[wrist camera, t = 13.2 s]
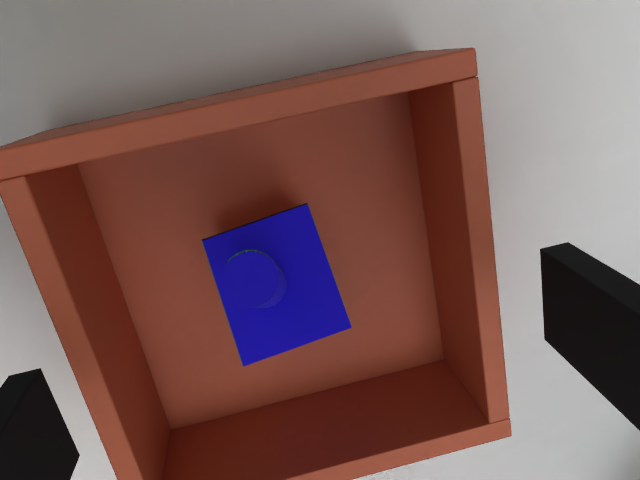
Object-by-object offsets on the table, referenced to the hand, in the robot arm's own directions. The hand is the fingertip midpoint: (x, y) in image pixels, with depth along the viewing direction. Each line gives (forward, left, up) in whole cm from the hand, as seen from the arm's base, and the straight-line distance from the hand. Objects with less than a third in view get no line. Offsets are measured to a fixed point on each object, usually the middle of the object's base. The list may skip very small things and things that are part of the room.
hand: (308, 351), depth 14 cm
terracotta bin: (0, 0, -8) cm, 8 cm away
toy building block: (0, 0, -8) cm, 8 cm away
